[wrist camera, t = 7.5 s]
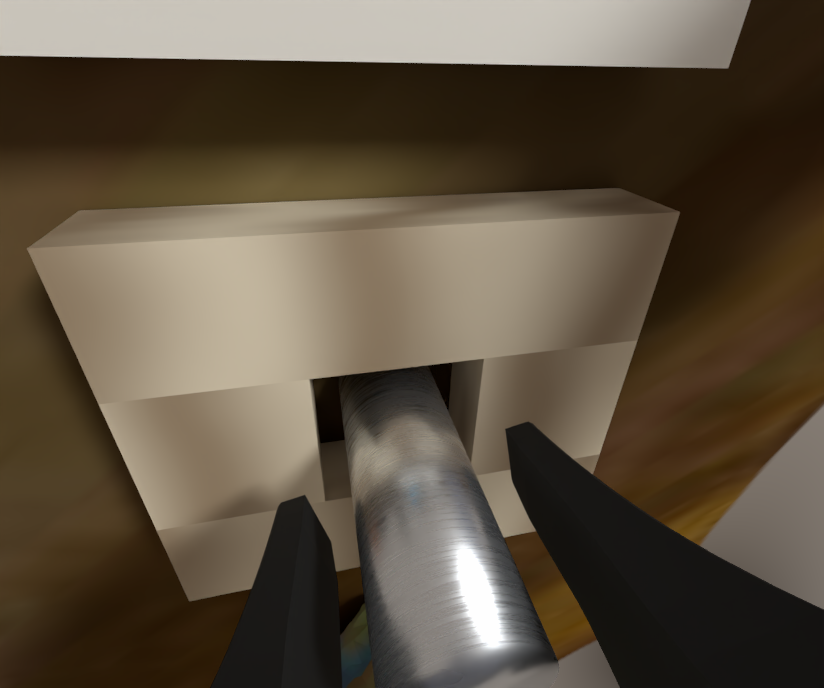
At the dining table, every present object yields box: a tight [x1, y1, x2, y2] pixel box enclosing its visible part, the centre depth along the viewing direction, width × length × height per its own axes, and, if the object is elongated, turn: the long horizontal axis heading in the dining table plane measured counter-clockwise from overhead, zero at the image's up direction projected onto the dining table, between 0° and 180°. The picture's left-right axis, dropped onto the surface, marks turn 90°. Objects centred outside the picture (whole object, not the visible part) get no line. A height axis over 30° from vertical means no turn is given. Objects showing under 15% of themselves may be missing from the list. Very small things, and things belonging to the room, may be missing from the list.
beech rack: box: [27, 188, 680, 601], centre depth 14 cm, size 14×12×2 cm
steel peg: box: [338, 365, 559, 688], centre depth 11 cm, size 3×3×9 cm
